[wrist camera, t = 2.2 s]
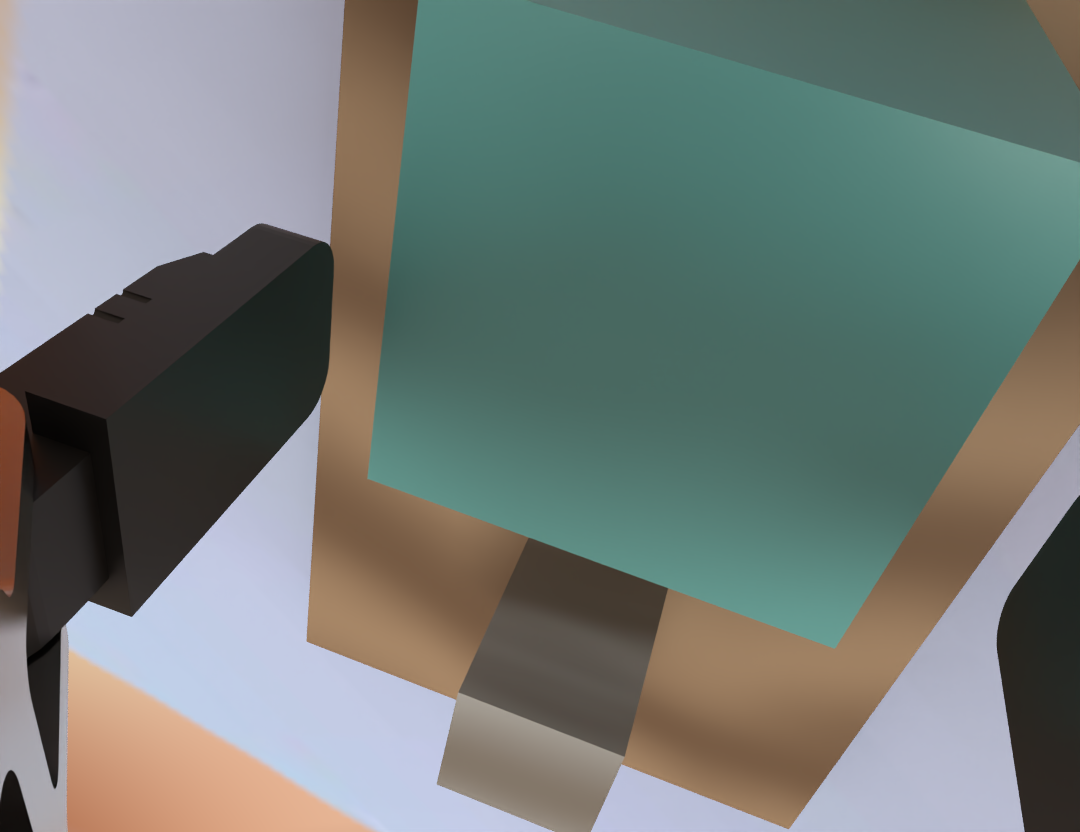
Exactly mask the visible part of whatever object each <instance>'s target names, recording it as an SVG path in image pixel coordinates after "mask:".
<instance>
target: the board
mask: <svg viewBox="0 0 1080 832" xmlns="http://www.w3.org/2000/svg"><path fill="white" fill-rule="evenodd" d="M1026 2H1027V3H1028V5H1029V7H1030V8H1031V10H1032V12H1033V13H1034V15H1035V17H1036V18H1037V20H1038V22H1039V23H1040V25H1041V27H1042V28H1043V30H1044V32H1045V34H1046V35H1047V37H1048V39H1049V40H1050V42H1051V44H1052V45H1053V47H1054V49H1055V50H1056V52H1057V54H1058V55H1059V57H1060V59H1061V60H1062V62H1063V64H1064V65H1065V67H1066V69H1067V71H1068V72H1069V74H1070V76H1071V77H1072V79H1073V81H1074V82H1075V84H1076V86H1077V87H1078V89H1079V91H1080V0H1026ZM417 7H418V0H345V8H344V24H343V41H342V58H341V74H340V91H339V108H338V125H337V141H336V158H335V175H334V192H333V208H332V225H331V242H330V247H331V250H332V252H333V257H334V280H333V299H332V319H331V338H330V358H329V369H328V374H327V378H326V382H325V385H324V388H323V391H322V394H321V409H320V426H319V442H318V459H317V476H316V493H315V509H314V526H313V543H312V559H311V576H310V593H309V610H308V626H307V642H309V643H312V644H314V645H317V646H319V647H322V648H325V649H327V650H330V651H332V652H335V653H337V654H340V655H343V656H345V657H348V658H350V659H353V660H355V661H358V662H361V663H363V664H366V665H368V666H371V667H373V668H376V669H379V670H381V671H384V672H386V673H389V674H391V675H394V676H397V677H399V678H402V679H404V680H407V681H409V682H412V683H415V684H417V685H420V686H422V687H425V688H427V689H430V690H433V691H435V692H438V693H440V694H443V695H445V696H448V697H450V698H453V699H456V704H455V708H454V713H453V717H452V721H451V725H450V730H449V734H448V738H447V742H446V747H445V751H444V755H443V760H442V764H441V768H440V772H439V777H438V781H437V785H440V786H442V787H445V788H447V789H450V790H452V791H455V792H457V793H460V794H462V795H465V796H467V797H470V798H472V799H475V800H477V801H480V802H482V803H485V804H487V805H490V806H492V807H495V808H497V809H500V810H502V811H505V812H507V813H510V814H512V815H515V816H517V817H520V818H522V819H525V820H527V821H530V822H532V823H535V824H537V825H539V826H542V827H544V828H547V829H549V830H552V831H554V832H591V830H592V828H593V825H594V823H595V821H596V819H597V817H598V814H599V812H600V810H601V808H602V806H603V803H604V801H605V799H606V797H607V795H608V792H609V790H610V788H611V786H612V784H613V781H614V779H615V777H616V775H617V773H618V770H619V768H620V766H621V764H623V765H625V766H628V767H630V768H633V769H635V770H638V771H641V772H643V773H646V774H648V775H651V776H653V777H656V778H659V779H661V780H664V781H666V782H669V783H671V784H674V785H677V786H679V787H682V788H684V789H687V790H689V791H692V792H695V793H697V794H700V795H702V796H705V797H707V798H710V799H712V800H715V801H718V802H720V803H723V804H725V805H728V806H730V807H733V808H736V809H738V810H741V811H743V812H746V813H748V814H751V815H754V816H756V817H759V818H761V819H764V820H766V821H769V822H772V823H774V824H777V825H779V826H782V827H784V828H787V829H789V828H790V827H791V825H792V824H793V823H794V821H795V820H796V818H797V817H798V816H799V814H800V813H801V811H802V810H803V809H804V807H805V806H806V804H807V803H808V802H809V800H810V799H811V798H812V796H813V795H814V793H815V792H816V791H817V789H818V788H819V786H820V785H821V784H822V782H823V781H824V779H825V778H826V777H827V775H828V774H829V772H830V771H831V770H832V768H833V767H834V766H835V764H836V763H837V761H838V760H839V759H840V757H841V756H842V754H843V753H844V752H845V750H846V749H847V747H848V746H849V745H850V743H851V742H852V740H853V739H854V738H855V736H856V735H857V734H858V732H859V731H860V729H861V728H862V727H863V725H864V724H865V722H866V721H867V720H868V718H869V717H870V715H871V714H872V713H873V711H874V710H875V708H876V707H877V706H878V704H879V703H880V702H881V700H882V699H883V697H884V696H885V695H886V693H887V692H888V690H889V689H890V688H891V686H892V685H893V683H894V682H895V681H896V679H897V678H898V676H899V675H900V674H901V672H902V671H903V670H904V668H905V667H906V665H907V664H908V663H909V661H910V660H911V658H912V657H913V656H914V654H915V653H916V651H917V650H918V649H919V647H920V646H921V644H922V643H923V642H924V640H925V639H926V638H927V636H928V635H929V633H930V632H931V631H932V629H933V628H934V626H935V625H936V624H937V622H938V621H939V619H940V618H941V617H942V615H943V614H944V612H945V611H946V610H947V608H948V607H949V605H950V604H951V603H952V601H953V600H954V599H955V597H956V596H957V594H958V593H959V592H960V590H961V589H962V587H963V586H964V585H965V583H966V582H967V580H968V579H969V578H970V576H971V575H972V573H973V572H974V571H975V569H976V568H977V567H978V565H979V564H980V562H981V561H982V560H983V558H984V557H985V555H986V554H987V553H988V551H989V550H990V548H991V547H992V546H993V544H994V543H995V541H996V540H997V539H998V537H999V536H1000V535H1001V533H1002V532H1003V530H1004V529H1005V528H1006V526H1007V525H1008V523H1009V522H1010V521H1011V519H1012V518H1013V516H1014V515H1015V514H1016V512H1017V511H1018V509H1019V508H1020V507H1021V505H1022V504H1023V503H1024V501H1025V500H1026V498H1027V497H1028V496H1029V494H1030V493H1031V491H1032V490H1033V489H1034V487H1035V486H1036V484H1037V483H1038V482H1039V480H1040V479H1041V477H1042V476H1043V475H1044V473H1045V472H1046V471H1047V469H1048V468H1049V466H1050V465H1051V464H1052V462H1053V461H1054V459H1055V458H1056V457H1057V455H1058V454H1059V452H1060V451H1061V450H1062V448H1063V447H1064V445H1065V444H1066V443H1067V441H1068V440H1069V439H1070V437H1071V436H1072V434H1073V433H1074V432H1075V430H1076V429H1077V427H1078V426H1079V425H1080V260H1079V261H1078V263H1077V265H1076V266H1075V268H1074V269H1073V271H1072V273H1071V274H1070V276H1069V277H1068V279H1067V281H1066V282H1065V284H1064V285H1063V287H1062V288H1061V290H1060V292H1059V293H1058V295H1057V296H1056V298H1055V300H1054V301H1053V303H1052V304H1051V306H1050V308H1049V309H1048V311H1047V312H1046V314H1045V316H1044V317H1043V319H1042V320H1041V322H1040V323H1039V325H1038V327H1037V328H1036V330H1035V331H1034V333H1033V335H1032V336H1031V338H1030V339H1029V341H1028V343H1027V344H1026V346H1025V347H1024V349H1023V351H1022V352H1021V354H1020V355H1019V357H1018V358H1017V360H1016V362H1015V363H1014V365H1013V366H1012V368H1011V370H1010V371H1009V373H1008V374H1007V376H1006V378H1005V379H1004V381H1003V382H1002V384H1001V385H1000V387H999V389H998V390H997V392H996V393H995V395H994V397H993V398H992V400H991V401H990V403H989V405H988V406H987V408H986V409H985V411H984V413H983V414H982V416H981V417H980V419H979V420H978V422H977V424H976V425H975V427H974V428H973V430H972V432H971V433H970V435H969V436H968V438H967V440H966V441H965V443H964V444H963V446H962V448H961V449H960V451H959V452H958V454H957V455H956V457H955V459H954V460H953V462H952V463H951V465H950V467H949V468H948V470H947V471H946V473H945V475H944V476H943V478H942V479H941V481H940V482H939V484H938V486H937V487H936V489H935V490H934V492H933V494H932V495H931V497H930V498H929V500H928V502H927V503H926V505H925V506H924V508H923V510H922V511H921V513H920V514H919V516H918V517H917V519H916V521H915V522H914V524H913V525H912V527H911V529H910V530H909V532H908V533H907V535H906V537H905V538H904V540H903V541H902V543H901V545H900V546H899V548H898V549H897V551H896V552H895V554H894V556H893V557H892V559H891V560H890V562H889V564H888V565H887V567H886V568H885V570H884V572H883V573H882V575H881V576H880V578H879V580H878V581H877V583H876V584H875V586H874V587H873V589H872V591H871V592H870V594H869V595H868V597H867V599H866V600H865V602H864V603H863V605H862V607H861V608H860V610H859V611H858V613H857V614H856V616H855V618H854V619H853V621H852V622H851V624H850V626H849V627H848V629H847V630H846V632H845V634H844V635H843V637H842V638H841V640H840V642H839V643H838V645H837V646H836V648H835V649H834V648H831V647H829V646H826V645H823V644H820V643H818V642H815V641H812V640H809V639H807V638H804V637H801V636H798V635H796V634H793V633H790V632H787V631H785V630H782V629H779V628H776V627H774V626H771V625H768V624H765V623H763V622H760V621H757V620H754V619H752V618H749V617H746V616H743V615H741V614H738V613H735V612H732V611H730V610H727V609H724V608H721V607H719V606H716V605H713V604H710V603H708V602H705V601H702V600H699V599H697V598H694V597H691V596H688V595H686V594H683V593H680V592H677V591H675V590H672V589H669V588H666V587H664V586H661V585H658V584H655V583H653V582H650V581H647V580H644V579H642V578H639V577H636V576H633V575H631V574H628V573H625V572H622V571H620V570H617V569H614V568H611V567H609V566H606V565H603V564H600V563H598V562H595V561H592V560H590V559H587V558H584V557H581V556H579V555H576V554H573V553H570V552H568V551H565V550H562V549H559V548H557V547H554V546H551V545H548V544H546V543H543V542H540V541H537V540H535V539H532V538H529V537H526V536H524V535H521V534H518V533H515V532H513V531H510V530H507V529H504V528H502V527H499V526H496V525H493V524H491V523H488V522H485V521H482V520H480V519H477V518H474V517H471V516H469V515H466V514H463V513H460V512H458V511H455V510H452V509H449V508H447V507H444V506H441V505H438V504H436V503H433V502H430V501H427V500H425V499H422V498H419V497H416V496H414V495H411V494H408V493H405V492H403V491H400V490H397V489H394V488H392V487H389V486H386V485H383V484H381V483H378V482H375V481H372V480H370V479H367V478H368V469H369V459H370V450H371V440H372V431H373V421H374V412H375V403H376V393H377V384H378V374H379V365H380V356H381V346H382V337H383V327H384V318H385V309H386V299H387V290H388V280H389V271H390V261H391V252H392V243H393V233H394V224H395V214H396V205H397V196H398V186H399V177H400V167H401V158H402V149H403V139H404V130H405V120H406V111H407V102H408V92H409V83H410V73H411V64H412V54H413V45H414V36H415V26H416V17H417Z"/></svg>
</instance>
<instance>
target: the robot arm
mask: <svg viewBox="0 0 1080 832" xmlns="http://www.w3.org/2000/svg"><path fill="white" fill-rule="evenodd" d="M333 280H334V257H333V252H332V250H331V247H330V246H329V245H328V244H327V243H325V242H322V241H319V240H316V239H312V238H309V237H306V236H303V235H299V234H296V233H293V232H290V231H287V230H283V229H280V228H277V227H274V226H270V225H267V224H262V223H261V224H257V225H255V226H253V227H252V228H250V229H249V230H247V231H246V232H245V233H243V234H242V235H240V236H239V237H238V238H236V239H235V240H233V241H232V242H231V243H229V244H228V245H227V246H225V247H224V248H222V249H221V250H220V251H218V252H217V253H215V254H214V255H211V254H208V253H205V252H202V253H199V254H196V255H193V256H189V257H186V258H183V259H180V260H176V261H173V262H170V263H167V264H163V265H160V266H157V267H156V268H154V269H153V270H151V271H150V272H148V273H147V274H145V275H144V276H142V277H141V278H139V279H138V280H136V281H135V282H133V283H132V284H131V285H129V286H128V287H126V288H125V289H123V293H122V295H118V294H116V295H114V296H113V297H111V298H110V299H108V300H107V301H105V302H104V303H103V304H101V305H100V306H98V307H97V308H95V312H94V314H93V315H90V314H86V315H85V316H83V317H82V318H80V319H79V320H78V321H76V322H75V323H73V324H72V325H70V326H69V327H67V328H66V329H64V330H63V331H61V332H60V333H58V334H57V335H55V336H54V337H52V338H51V339H50V340H48V341H47V342H45V343H44V344H42V345H41V346H39V347H38V348H36V349H35V350H33V351H32V352H30V353H29V354H27V355H26V356H24V357H23V358H22V359H20V360H19V361H17V362H16V363H14V364H13V365H11V366H10V367H8V368H7V369H5V370H4V371H2V372H1V373H0V832H68V830H67V727H68V643H69V642H68V633H67V628H66V623H67V622H68V621H69V620H70V619H71V618H72V617H73V616H74V615H75V614H76V613H77V612H78V611H79V610H80V609H81V608H82V607H83V606H84V605H85V603H86V602H87V601H90V602H93V603H96V604H98V605H101V606H104V607H106V608H109V609H112V610H114V611H117V612H120V613H122V614H125V615H128V616H130V617H132V616H133V615H134V614H135V613H136V612H137V611H138V609H139V608H140V607H141V606H142V605H143V604H144V603H145V601H146V600H147V599H148V598H149V597H150V596H151V595H152V594H153V592H154V591H155V590H156V589H157V588H158V587H159V586H160V584H161V583H162V582H163V581H164V580H165V579H166V578H167V577H168V575H169V574H170V573H171V572H172V571H173V570H174V569H175V567H176V566H177V565H178V564H179V563H180V562H181V561H182V560H183V558H184V557H185V556H186V555H187V554H188V553H189V552H190V550H191V549H192V548H193V547H194V546H195V545H196V544H197V543H198V541H199V540H200V539H201V538H202V537H203V536H204V535H205V533H206V532H207V531H208V530H209V529H210V528H211V527H212V526H213V524H214V523H215V522H216V521H217V520H218V519H219V518H220V517H221V515H222V514H223V513H224V512H225V511H226V510H227V509H228V507H229V506H230V505H231V504H232V503H233V502H234V501H235V500H236V498H237V497H238V496H239V495H240V494H241V493H242V492H243V490H244V489H245V488H246V487H247V486H248V485H249V484H250V483H251V481H252V480H253V479H254V478H255V477H256V476H257V475H258V473H259V472H260V471H261V470H262V469H263V468H264V467H265V466H266V464H267V463H268V462H269V461H270V460H271V459H272V458H273V456H274V455H275V454H276V453H277V452H278V451H279V450H280V449H281V447H282V446H283V445H284V444H285V443H286V442H287V441H288V439H289V438H290V437H291V436H292V435H293V434H294V433H295V432H296V430H297V429H298V428H299V427H300V426H301V425H302V424H303V422H304V421H305V420H306V419H307V418H308V417H309V415H310V414H311V413H312V411H313V410H314V408H315V406H316V404H317V403H318V400H319V398H320V396H321V394H322V391H323V388H324V385H325V382H326V378H327V374H328V369H329V358H330V338H331V319H332V299H333ZM997 653H998V659H999V666H1000V673H1001V679H1002V686H1003V692H1004V699H1005V705H1006V712H1007V718H1008V725H1009V732H1010V738H1011V745H1012V751H1013V758H1014V764H1015V771H1016V777H1017V784H1018V791H1019V797H1020V804H1021V810H1022V817H1023V823H1024V830H1025V832H1080V496H1079V497H1078V498H1077V499H1076V500H1075V502H1074V503H1073V504H1072V506H1071V507H1070V509H1069V510H1068V511H1067V513H1066V514H1065V516H1064V517H1063V518H1062V520H1061V521H1060V523H1059V524H1058V525H1057V527H1056V528H1055V530H1054V531H1053V532H1052V534H1051V535H1050V537H1049V538H1048V539H1047V541H1046V542H1045V544H1044V545H1043V547H1042V548H1041V549H1040V551H1039V552H1038V554H1037V555H1036V556H1035V558H1034V559H1033V561H1032V562H1031V563H1030V565H1029V566H1028V568H1027V569H1026V570H1025V572H1024V573H1023V575H1022V576H1021V577H1020V579H1019V580H1018V582H1017V583H1016V584H1015V586H1014V587H1013V589H1012V591H1011V592H1010V594H1009V596H1008V598H1007V600H1006V602H1005V605H1004V607H1003V610H1002V613H1001V617H1000V621H999V625H998V631H997Z"/></svg>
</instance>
